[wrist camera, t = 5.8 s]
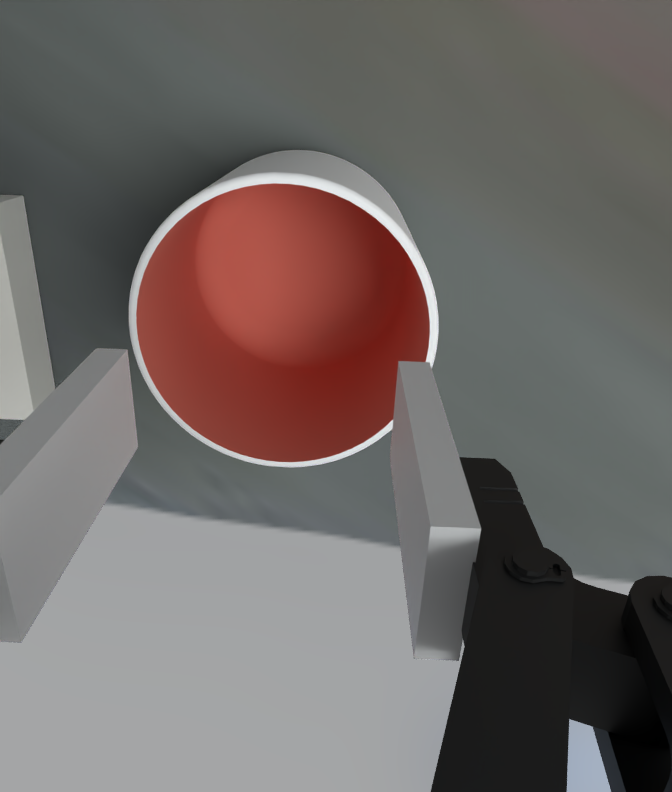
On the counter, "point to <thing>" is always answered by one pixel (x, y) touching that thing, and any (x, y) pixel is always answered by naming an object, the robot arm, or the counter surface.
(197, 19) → the counter surface
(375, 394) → the cup
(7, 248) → the dome base
